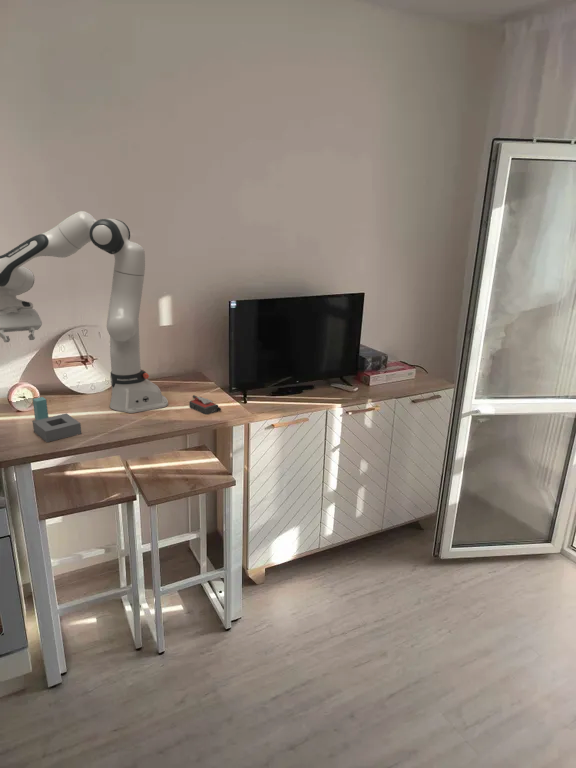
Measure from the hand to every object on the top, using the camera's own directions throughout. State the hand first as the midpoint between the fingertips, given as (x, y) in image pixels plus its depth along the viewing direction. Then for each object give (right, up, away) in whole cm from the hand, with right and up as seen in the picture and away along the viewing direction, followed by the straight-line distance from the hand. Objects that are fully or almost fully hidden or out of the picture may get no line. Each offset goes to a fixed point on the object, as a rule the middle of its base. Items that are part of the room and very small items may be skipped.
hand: (20, 340), depth 213 cm
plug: (+7, -29, +1) cm, 30 cm away
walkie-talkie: (+64, -26, +19) cm, 71 cm away
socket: (+18, -33, -10) cm, 39 cm away
